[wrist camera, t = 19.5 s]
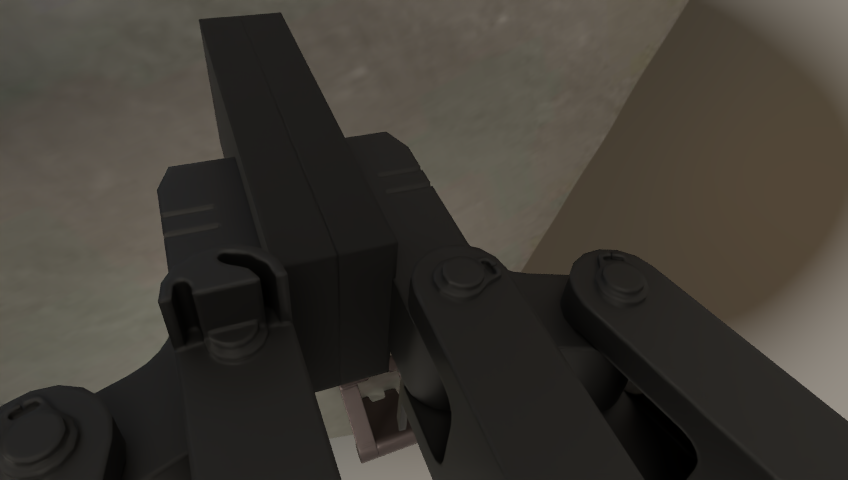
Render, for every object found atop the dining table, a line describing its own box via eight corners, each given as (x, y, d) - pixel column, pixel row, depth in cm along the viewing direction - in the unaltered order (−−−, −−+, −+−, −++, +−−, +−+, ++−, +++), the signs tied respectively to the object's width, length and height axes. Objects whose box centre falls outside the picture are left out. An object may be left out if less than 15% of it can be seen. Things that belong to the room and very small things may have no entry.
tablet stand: (411, 345, 69) (439, 407, 64) (411, 382, 75) (438, 443, 69) (335, 369, 67) (358, 437, 61) (341, 406, 72) (363, 471, 67)
